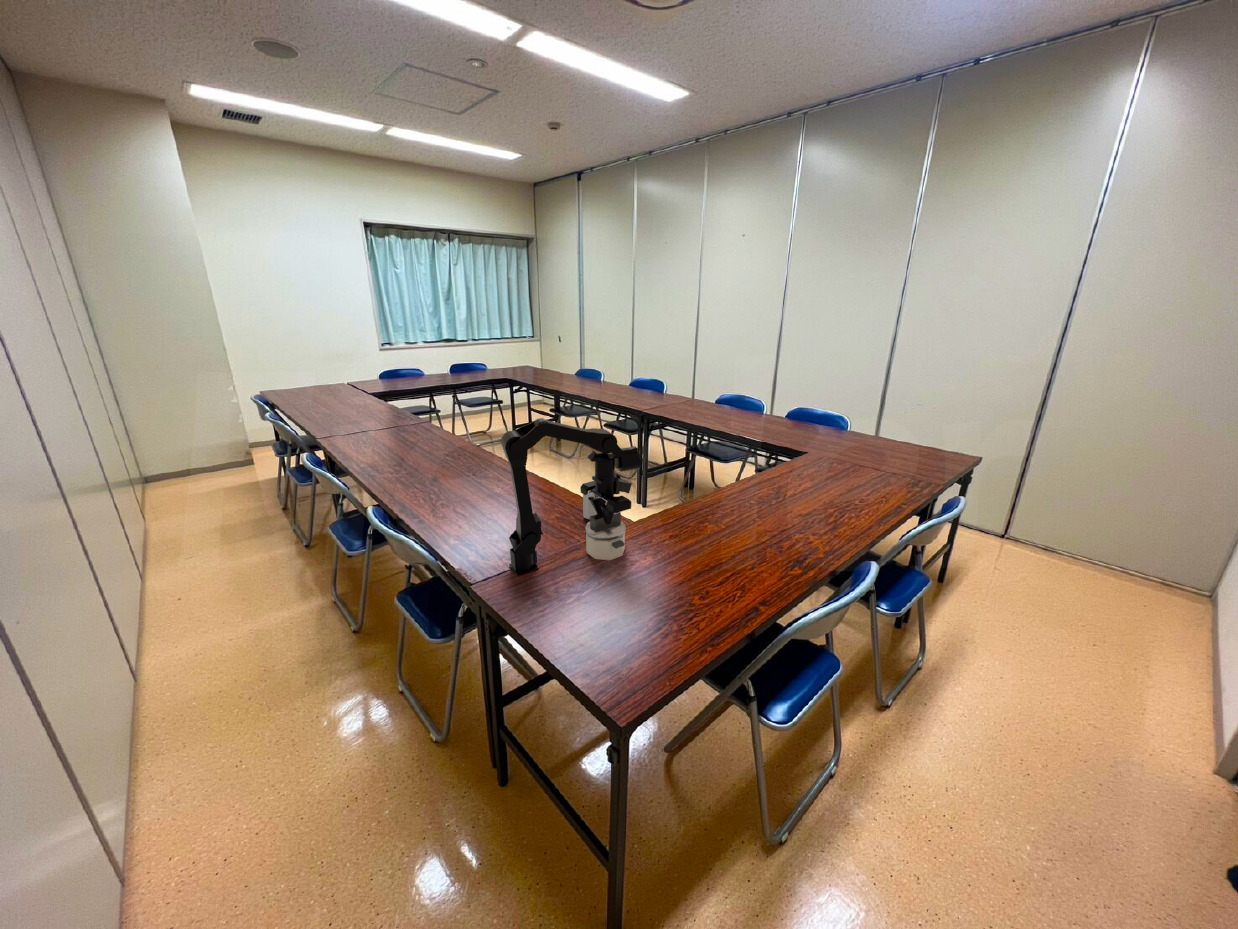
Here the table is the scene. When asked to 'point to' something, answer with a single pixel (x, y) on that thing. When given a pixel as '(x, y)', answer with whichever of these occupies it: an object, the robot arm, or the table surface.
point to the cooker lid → (605, 527)
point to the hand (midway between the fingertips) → (605, 522)
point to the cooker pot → (605, 547)
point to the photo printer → (588, 507)
